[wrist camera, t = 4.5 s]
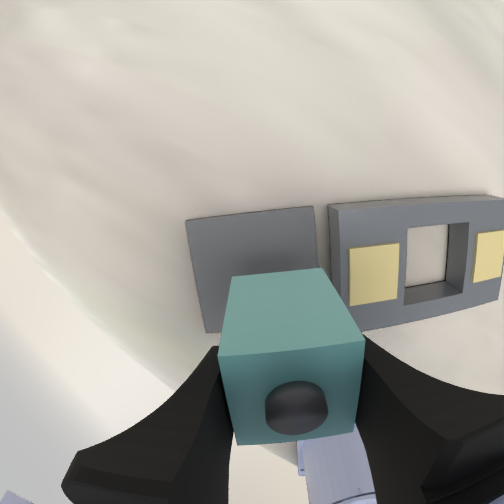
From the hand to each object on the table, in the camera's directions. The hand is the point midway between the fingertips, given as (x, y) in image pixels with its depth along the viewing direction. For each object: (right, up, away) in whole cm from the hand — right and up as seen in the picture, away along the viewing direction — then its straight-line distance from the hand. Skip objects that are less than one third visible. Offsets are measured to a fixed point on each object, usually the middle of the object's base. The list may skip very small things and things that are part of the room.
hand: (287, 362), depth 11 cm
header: (+11, +4, +9) cm, 15 cm away
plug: (0, +1, +3) cm, 4 cm away
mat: (-1, +3, +10) cm, 10 cm away
